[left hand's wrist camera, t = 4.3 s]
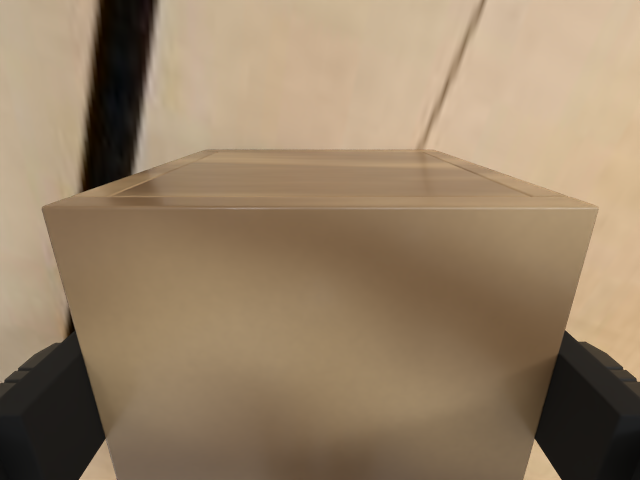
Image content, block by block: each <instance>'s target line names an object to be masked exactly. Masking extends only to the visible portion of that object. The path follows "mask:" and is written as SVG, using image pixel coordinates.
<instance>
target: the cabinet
mask: <svg viewBox="0 0 640 480" xmlns="http://www.w3.org/2000/svg"><path fill="white" fill-rule="evenodd" d="M598 210H599V208H598V206H595V205H592V204H590V203H587V202H584V201H581V200H578V199H575V198H572V197H568V196H566V195H563V194H560V193H557V192H554V191H551V190H548V189H546V188H543V187H540V186H537V185H534V184H531V183H528V182H525V181H522V180H520V179H517V178H514V177H511V176H508V175H505V174H502V173H499V172H497V171H494V170H491V169H488V168H485V167H482V166H479V165H476V164H473V163H471V162H468V161H465V160H462V159H459V158H456V157H453V156H450V155H448V154H445V153H442V152H439V151H436V150H204V151H201V152H198V153H195V154H192V155H189V156H186V157H183V158H180V159H177V160H175V161H172V162H169V163H166V164H163V165H160V166H157V167H154V168H152V169H149V170H146V171H143V172H140V173H137V174H134V175H131V176H128V177H126V178H123V179H120V180H117V181H114V182H111V183H108V184H105V185H103V186H100V187H97V188H94V189H91V190H88V191H85V192H82V193H80V194H77V195H74V196H71V197H68V198H65V199H63V200H60V201H57V202H54V203H51V204H48V205H45V206H43V207H42V212H43V215H44V219H45V223H46V226H47V230H48V233H49V237H50V241H51V244H52V248H53V251H54V255H55V258H56V262H57V266H58V269H59V273H60V276H61V280H62V284H63V287H64V291H65V294H66V298H67V302H68V305H69V309H70V312H71V316H72V319H73V323H74V327H75V330H76V334H77V337H78V341H79V345H80V348H81V352H82V355H83V359H84V363H85V366H86V370H87V373H88V377H89V380H90V384H91V388H92V391H93V395H94V398H95V402H96V406H97V409H98V413H99V416H100V420H101V424H102V427H103V431H104V434H105V438H106V441H107V445H108V449H109V452H110V456H111V459H112V463H113V467H114V470H115V474H116V477H117V480H523V478H524V475H525V471H526V467H527V464H528V460H529V457H530V453H531V450H532V446H533V442H534V439H535V435H536V432H537V428H538V424H539V421H540V417H541V414H542V410H543V407H544V403H545V399H546V396H547V392H548V389H549V385H550V382H551V378H552V374H553V371H554V367H555V364H556V360H557V356H558V353H559V349H560V346H561V342H562V339H563V335H564V331H565V328H566V324H567V321H568V317H569V314H570V310H571V306H572V303H573V299H574V296H575V292H576V288H577V285H578V281H579V278H580V274H581V271H582V267H583V263H584V260H585V256H586V253H587V249H588V246H589V242H590V238H591V235H592V231H593V228H594V224H595V220H596V217H597V213H598Z"/></svg>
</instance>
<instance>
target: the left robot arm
mask: <svg viewBox="0 0 640 480" xmlns="http://www.w3.org/2000/svg"><path fill="white" fill-rule="evenodd" d="M105 439H106V438H105V434H104V431H103V427H102V424H101V420H100V416H99V413H98V409H97V406H96V402H95V398H94V395H93V391H92V388H91V384H90V380H89V377H88V373H87V370H86V366H85V363H84V359H83V355H82V352H81V348H80V345H79V341H78V337H77V334H76V330H75V331H74V332H73V333H72V334H71V335H69V336H68V337H67V338H66V339H65V340H64V341H63V342H62V343H54V344H53V345H51V346H49V347H47V348H45V349H44V350H42V351H40V352H38V353H36V354H35V355H33V356H32V357H31V358H30V359H29V360H27V361H26V362H25V363H24V364H23V365H22V366H20V367H19V368H18V371H15V372H13V373H12V374H11V375H10V376H9V377H8V378H6V379H5V382H4V383H1V384H0V480H79V478H80V477H81V475H82V474H83V472H84V471H85V469H86V468H87V466H88V465H89V463H90V462H91V460H92V459H93V457H94V456H95V454H96V452H97V451H98V449H99V448H100V446H101V445H102V443H103V442H104V440H105ZM535 440H536V441H537V443H538V444H539V446H540V447H541V449H542V450H543V452H544V453H545V455H546V456H547V458H548V460H549V461H550V463H551V464H552V466H553V467H554V469H555V470H556V472H557V473H558V475H559V476H560V478H561V479H562V480H640V382H637V380H636V378H635V377H634V376H633V375H631V374H630V373H629V372H628V371H627V370H623V367H622V366H621V365H620V364H618V363H617V362H616V361H615V360H614V359H612V358H611V357H610V356H609V355H608V354H607V353H605V352H603V351H601V350H599V349H598V348H596V347H594V346H592V345H590V344H589V343H587V342H578V341H577V340H575V339H574V338H573V337H572V336H571V335H570V334H569V333H568V332H567V331H564V335H563V339H562V342H561V346H560V349H559V353H558V356H557V360H556V364H555V367H554V371H553V374H552V378H551V382H550V385H549V389H548V392H547V396H546V399H545V403H544V407H543V410H542V414H541V417H540V421H539V424H538V428H537V432H536V435H535Z"/></svg>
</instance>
